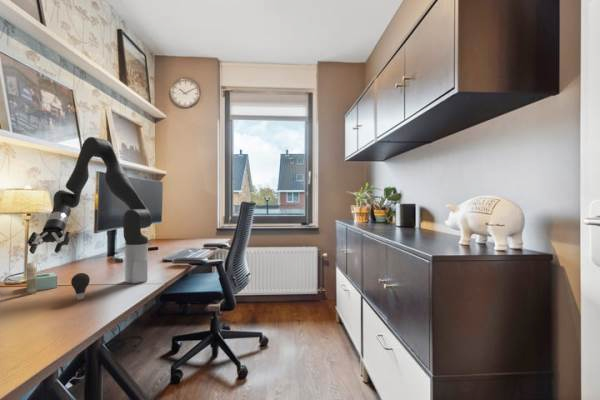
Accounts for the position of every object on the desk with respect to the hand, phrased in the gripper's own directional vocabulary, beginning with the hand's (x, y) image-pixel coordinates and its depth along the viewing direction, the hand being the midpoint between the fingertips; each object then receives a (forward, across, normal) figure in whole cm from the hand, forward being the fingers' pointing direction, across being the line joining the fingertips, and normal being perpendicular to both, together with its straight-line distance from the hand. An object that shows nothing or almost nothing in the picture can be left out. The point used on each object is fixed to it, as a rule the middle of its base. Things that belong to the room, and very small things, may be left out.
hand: (44, 252), depth 130 cm
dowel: (+18, 0, +3) cm, 18 cm away
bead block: (+12, 0, +9) cm, 15 cm away
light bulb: (+29, +21, -7) cm, 36 cm away
